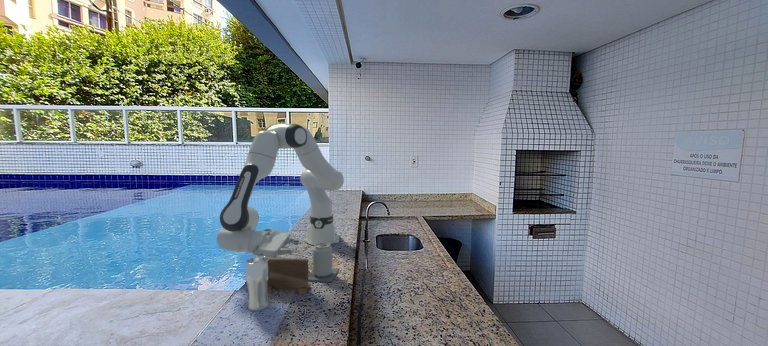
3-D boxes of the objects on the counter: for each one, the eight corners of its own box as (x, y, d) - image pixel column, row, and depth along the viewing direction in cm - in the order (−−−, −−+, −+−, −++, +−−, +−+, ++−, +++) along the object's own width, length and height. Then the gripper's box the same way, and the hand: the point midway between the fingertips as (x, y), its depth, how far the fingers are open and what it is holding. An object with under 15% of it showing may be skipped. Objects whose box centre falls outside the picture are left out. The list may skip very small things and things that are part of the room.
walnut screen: (272, 284, 113) (272, 255, 112) (310, 286, 112) (310, 257, 111) (265, 292, 107) (264, 261, 106) (304, 294, 106) (304, 263, 105)
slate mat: (314, 269, 127) (314, 268, 127) (338, 270, 127) (338, 269, 127) (305, 280, 116) (305, 279, 116) (332, 282, 116) (332, 280, 116)
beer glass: (247, 313, 93) (246, 265, 92) (245, 303, 99) (245, 257, 98) (271, 308, 96) (271, 262, 95) (268, 298, 102) (268, 254, 101)
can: (334, 271, 125) (334, 242, 124) (328, 278, 117) (329, 248, 116) (316, 269, 126) (316, 241, 125) (309, 277, 118) (309, 246, 117)
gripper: (250, 245, 112) (288, 249, 112) (269, 226, 132) (302, 230, 132) (249, 261, 113) (287, 265, 113) (268, 240, 133) (301, 244, 133)
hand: (295, 246), depth 123 cm, fingers open, 8 cm apart
